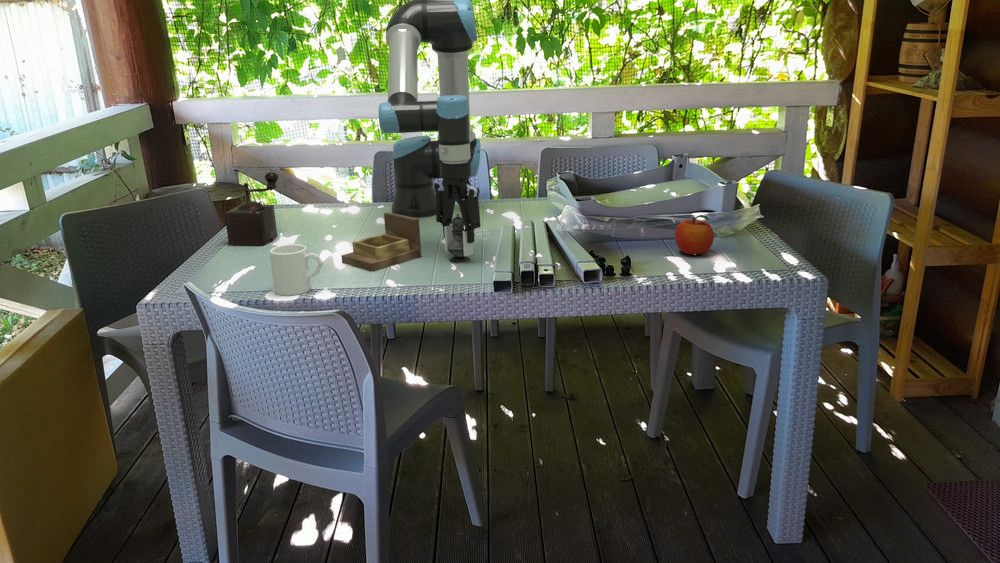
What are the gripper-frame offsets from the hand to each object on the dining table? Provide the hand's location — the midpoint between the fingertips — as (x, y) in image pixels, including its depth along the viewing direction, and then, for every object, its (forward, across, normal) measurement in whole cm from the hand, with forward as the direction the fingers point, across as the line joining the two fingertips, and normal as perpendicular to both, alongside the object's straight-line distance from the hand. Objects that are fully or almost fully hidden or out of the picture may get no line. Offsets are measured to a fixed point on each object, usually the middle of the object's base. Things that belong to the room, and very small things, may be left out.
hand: (459, 252), depth 203 cm
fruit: (+2, +43, +40) cm, 59 cm away
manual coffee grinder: (+2, -61, -20) cm, 64 cm away
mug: (+2, -12, -39) cm, 41 cm away
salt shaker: (+2, 0, 0) cm, 2 cm away
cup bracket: (+2, -16, -12) cm, 20 cm away
